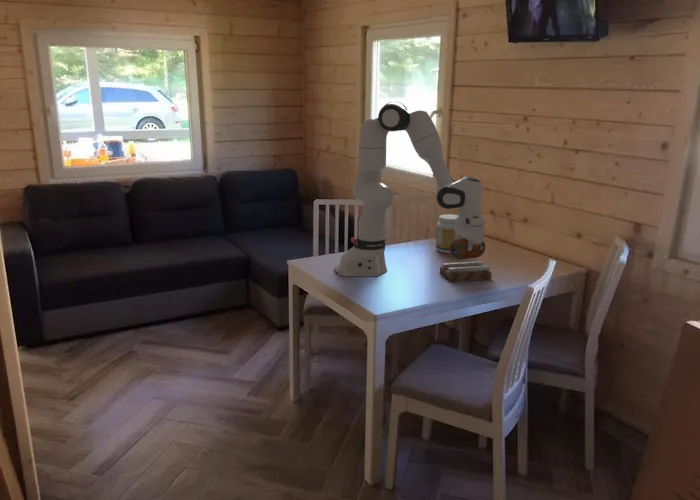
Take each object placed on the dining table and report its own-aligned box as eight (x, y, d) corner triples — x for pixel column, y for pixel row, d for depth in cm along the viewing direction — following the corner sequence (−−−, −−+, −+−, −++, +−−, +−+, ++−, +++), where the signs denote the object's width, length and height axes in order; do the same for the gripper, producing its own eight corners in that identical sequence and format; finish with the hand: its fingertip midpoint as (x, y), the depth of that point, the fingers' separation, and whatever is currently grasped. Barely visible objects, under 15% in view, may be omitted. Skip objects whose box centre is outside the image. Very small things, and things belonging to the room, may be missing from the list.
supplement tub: (449, 246, 299) (451, 212, 294) (466, 251, 289) (468, 217, 284) (430, 249, 292) (432, 215, 288) (447, 255, 283) (449, 220, 278)
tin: (450, 259, 248) (452, 240, 245) (448, 256, 251) (449, 238, 248) (484, 257, 252) (486, 238, 249) (481, 254, 255) (483, 236, 252)
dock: (450, 282, 246) (451, 270, 244) (439, 273, 257) (440, 262, 256) (491, 279, 250) (492, 268, 248) (478, 270, 261) (479, 259, 260)
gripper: (452, 211, 255) (450, 242, 259) (472, 222, 236) (470, 256, 240) (466, 210, 257) (464, 242, 260) (487, 222, 237) (484, 255, 241)
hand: (467, 249), depth 250 cm, fingers closed on tin, 2 cm apart
